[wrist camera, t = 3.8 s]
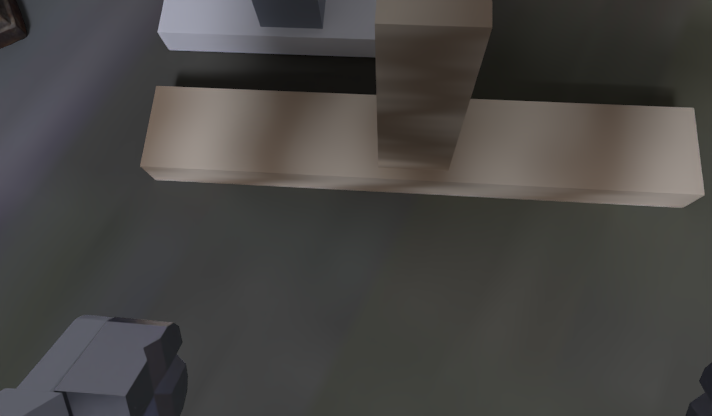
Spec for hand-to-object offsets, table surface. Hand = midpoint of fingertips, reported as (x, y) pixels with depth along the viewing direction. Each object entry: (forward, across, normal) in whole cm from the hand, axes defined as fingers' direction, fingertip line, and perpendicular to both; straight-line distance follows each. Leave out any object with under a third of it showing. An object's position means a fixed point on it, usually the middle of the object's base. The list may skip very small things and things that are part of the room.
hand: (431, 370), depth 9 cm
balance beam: (+18, 0, +4) cm, 18 cm away
